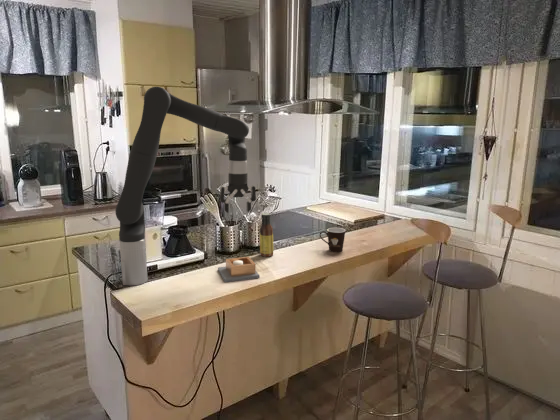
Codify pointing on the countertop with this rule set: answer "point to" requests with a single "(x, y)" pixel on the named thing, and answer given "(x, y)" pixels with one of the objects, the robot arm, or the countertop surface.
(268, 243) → the sauce bottle
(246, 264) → the brown wooden open box
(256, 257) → the countertop surface
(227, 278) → the post base
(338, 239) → the coffee mug
